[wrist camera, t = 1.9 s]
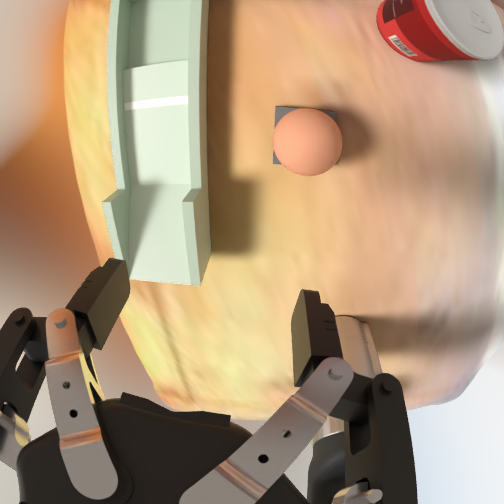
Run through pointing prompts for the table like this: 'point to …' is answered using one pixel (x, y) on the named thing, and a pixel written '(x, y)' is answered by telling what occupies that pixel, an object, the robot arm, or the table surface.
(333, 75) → the table surface
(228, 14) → the table surface
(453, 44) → the canned food
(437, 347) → the table surface
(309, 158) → the ball
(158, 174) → the lane
